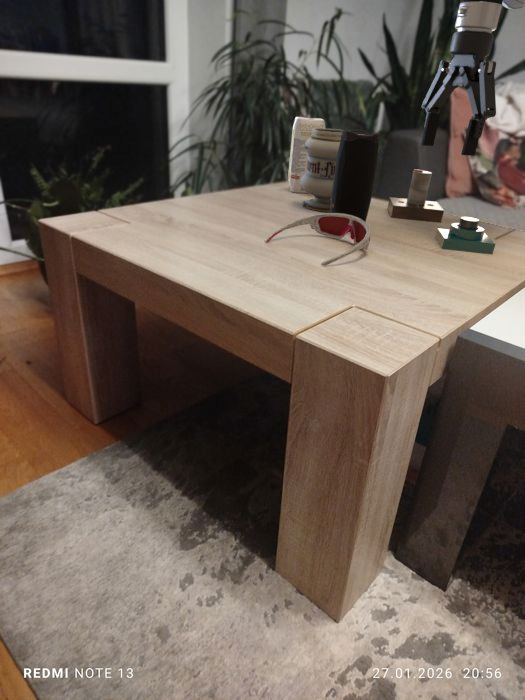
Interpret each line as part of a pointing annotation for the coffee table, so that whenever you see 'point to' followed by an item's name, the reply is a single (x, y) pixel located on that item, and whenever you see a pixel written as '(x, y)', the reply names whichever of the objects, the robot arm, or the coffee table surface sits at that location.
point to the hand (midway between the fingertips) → (446, 150)
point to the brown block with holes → (415, 210)
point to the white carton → (300, 150)
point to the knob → (419, 187)
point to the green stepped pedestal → (464, 239)
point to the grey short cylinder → (468, 223)
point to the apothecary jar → (320, 167)
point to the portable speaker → (355, 173)
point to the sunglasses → (335, 230)
